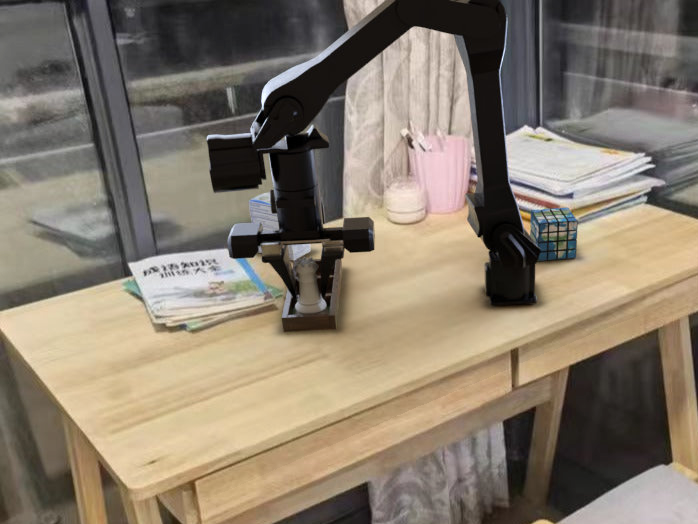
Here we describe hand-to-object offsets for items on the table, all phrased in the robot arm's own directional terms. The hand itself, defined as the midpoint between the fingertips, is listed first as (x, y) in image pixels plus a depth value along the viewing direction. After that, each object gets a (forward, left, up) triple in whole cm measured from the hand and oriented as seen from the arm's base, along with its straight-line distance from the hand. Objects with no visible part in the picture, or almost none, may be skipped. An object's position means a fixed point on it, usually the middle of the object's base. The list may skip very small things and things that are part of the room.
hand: (309, 297), depth 128 cm
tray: (0, -6, -3) cm, 7 cm away
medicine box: (+6, -24, -3) cm, 25 cm away
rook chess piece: (0, 0, -3) cm, 3 cm away
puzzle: (-36, -19, -3) cm, 41 cm away
